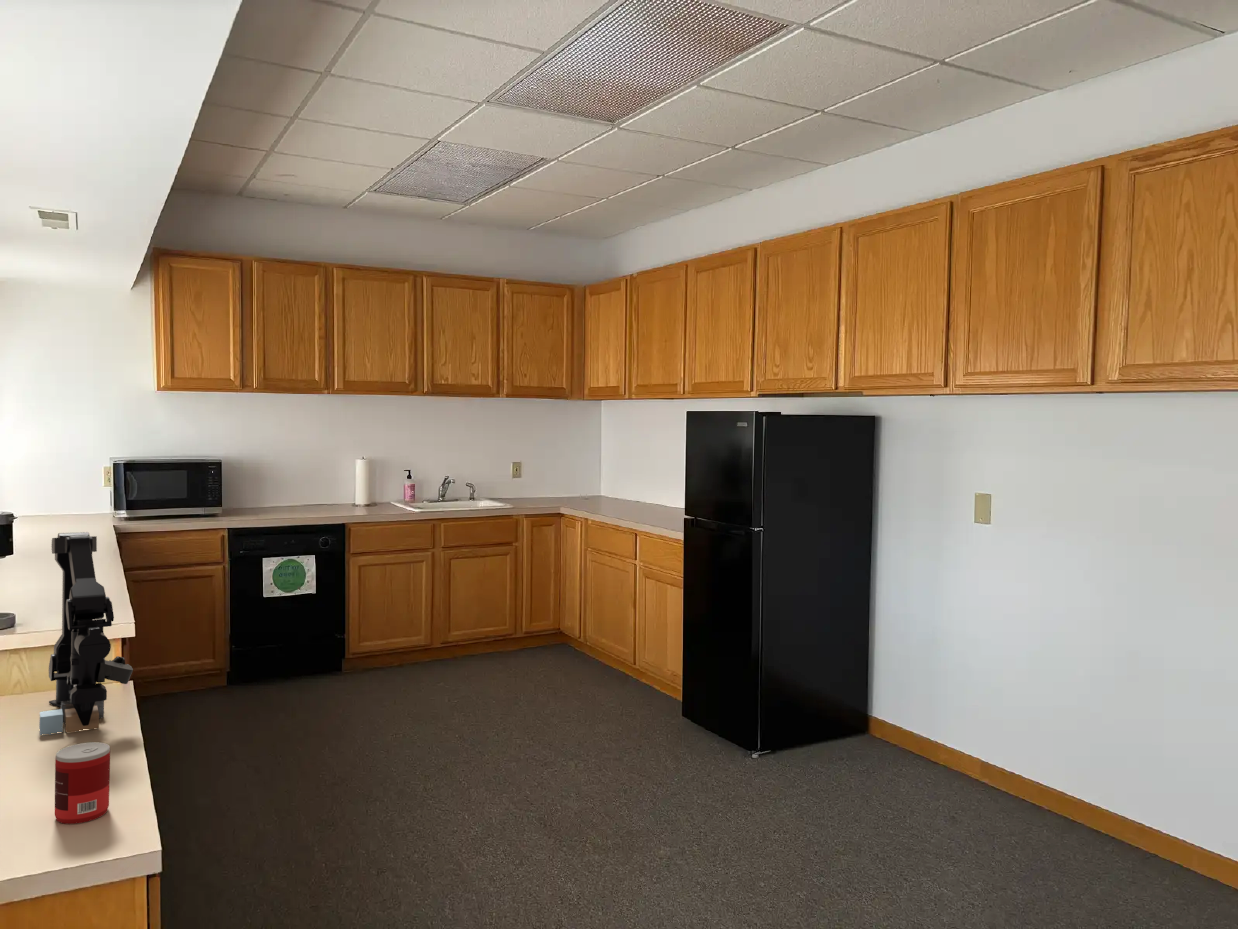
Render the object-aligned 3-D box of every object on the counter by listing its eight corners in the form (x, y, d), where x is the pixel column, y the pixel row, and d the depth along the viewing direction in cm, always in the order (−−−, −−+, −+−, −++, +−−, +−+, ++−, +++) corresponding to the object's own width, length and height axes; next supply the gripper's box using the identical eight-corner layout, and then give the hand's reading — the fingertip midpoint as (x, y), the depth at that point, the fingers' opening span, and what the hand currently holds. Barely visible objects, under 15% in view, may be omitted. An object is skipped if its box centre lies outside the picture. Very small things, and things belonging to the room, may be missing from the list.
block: (39, 730, 188) (39, 711, 188) (61, 727, 190) (61, 709, 190) (39, 736, 185) (40, 717, 185) (62, 733, 187) (62, 714, 187)
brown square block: (64, 725, 192) (64, 709, 192) (96, 721, 195) (96, 705, 195) (65, 733, 187) (66, 717, 187) (98, 729, 190) (99, 713, 190)
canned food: (119, 806, 153) (120, 743, 153) (86, 826, 145) (88, 760, 145) (77, 803, 154) (78, 740, 153) (43, 823, 146) (44, 757, 145)
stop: (60, 719, 195) (60, 701, 195) (102, 714, 199) (103, 696, 199) (61, 723, 192) (61, 705, 192) (103, 718, 197) (104, 700, 197)
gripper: (135, 657, 184) (133, 732, 185) (125, 639, 200) (124, 708, 200) (72, 663, 178) (70, 741, 178) (67, 644, 193) (66, 715, 194)
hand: (85, 725), depth 188 cm, fingers closed
